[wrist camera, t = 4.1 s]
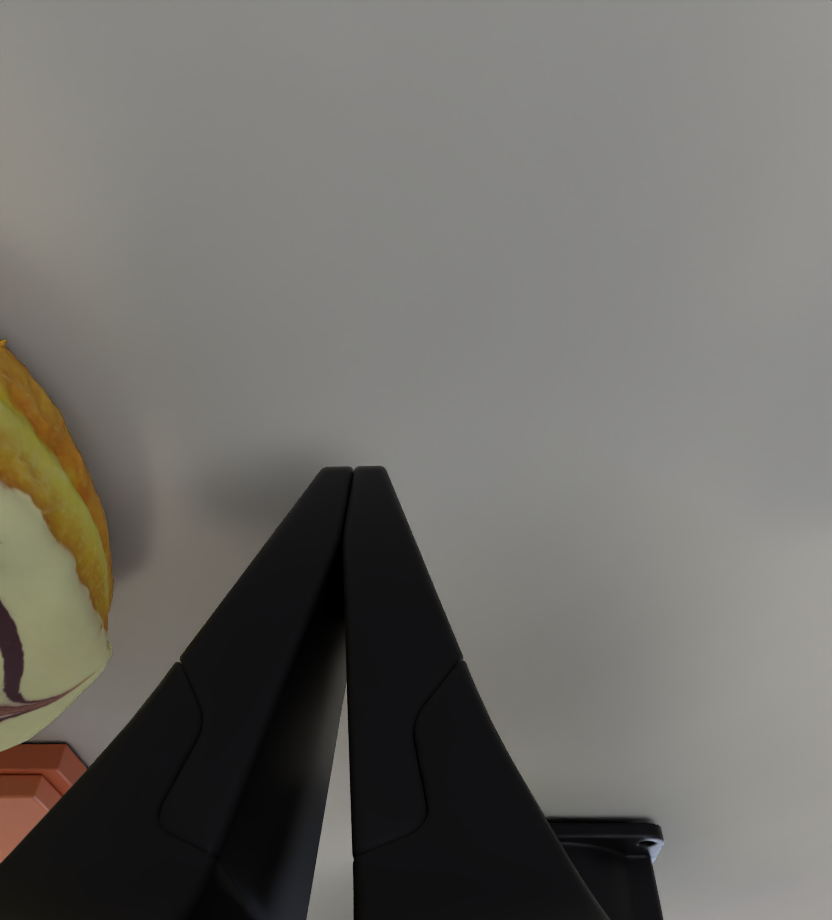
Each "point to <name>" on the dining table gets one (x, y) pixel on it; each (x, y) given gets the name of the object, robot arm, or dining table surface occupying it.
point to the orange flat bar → (32, 787)
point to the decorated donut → (46, 562)
